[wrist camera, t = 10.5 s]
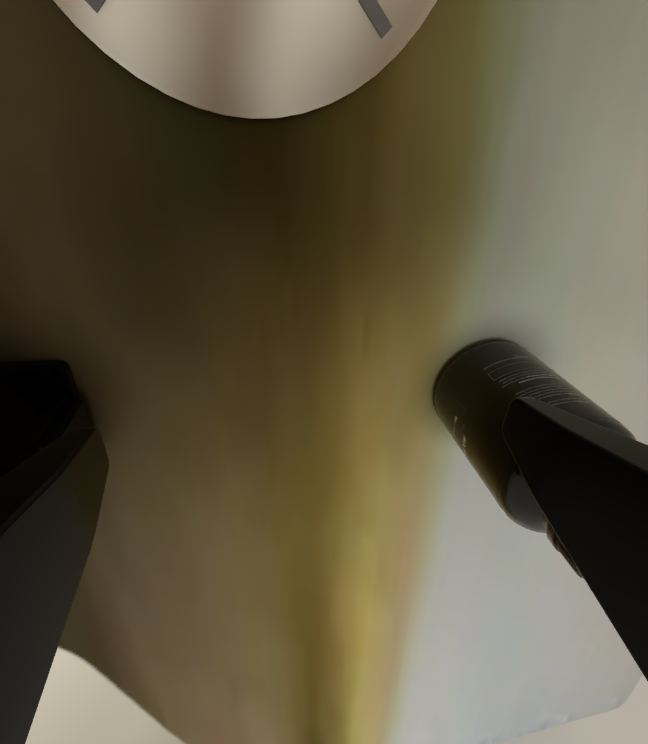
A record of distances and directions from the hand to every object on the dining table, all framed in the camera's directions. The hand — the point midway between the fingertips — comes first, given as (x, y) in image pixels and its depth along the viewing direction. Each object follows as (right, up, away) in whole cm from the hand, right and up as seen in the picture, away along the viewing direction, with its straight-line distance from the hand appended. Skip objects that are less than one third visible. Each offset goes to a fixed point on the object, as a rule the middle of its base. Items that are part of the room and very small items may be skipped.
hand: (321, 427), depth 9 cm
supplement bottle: (+10, 0, +17) cm, 20 cm away
